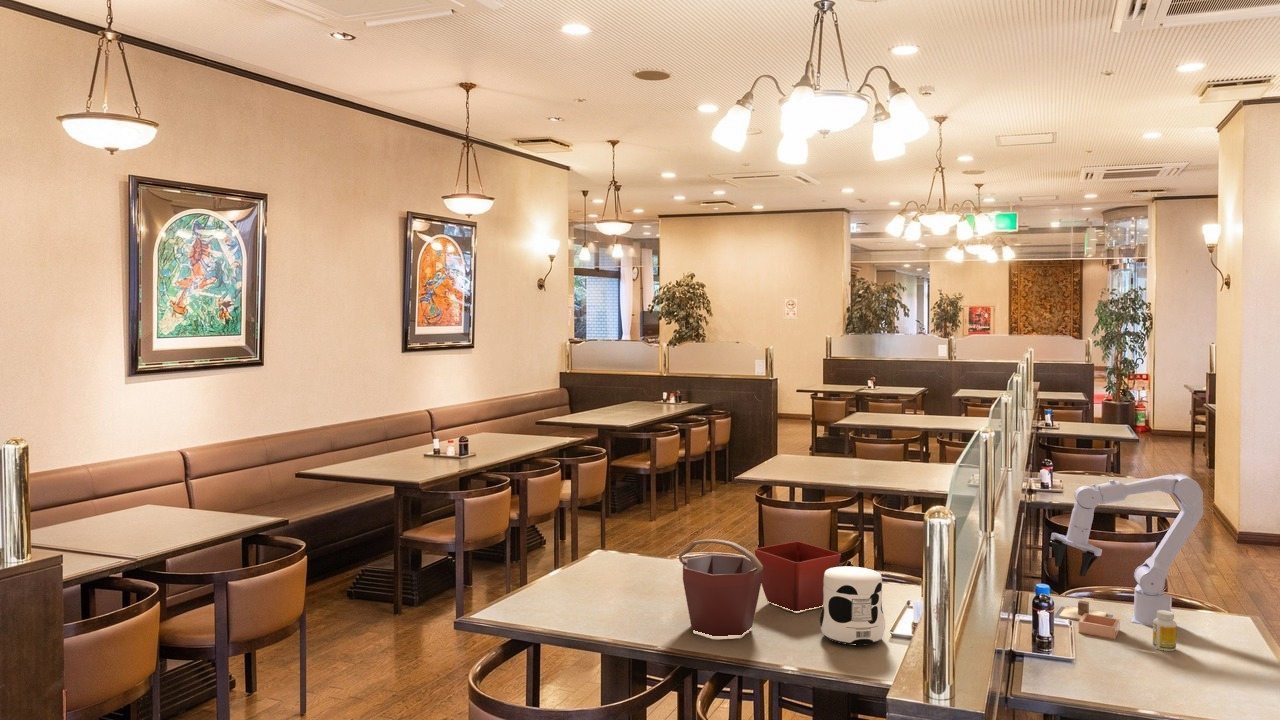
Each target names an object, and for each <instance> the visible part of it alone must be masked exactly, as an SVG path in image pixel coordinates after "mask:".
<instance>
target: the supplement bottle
mask: <svg viewBox="0 0 1280 720" xmlns="http://www.w3.org/2000/svg"><path fill="white" fill-rule="evenodd" d="M1157 617H1158V618H1156V619H1154V621H1153V626H1152V646H1153V648H1156V650H1159V651H1163V650H1164V651H1165V652H1174V651H1175V650H1176V649H1177V626H1178V624H1177V622H1176V621H1175V620H1174V619H1175V613H1174V612H1172V611H1171V612H1170V611H1165V610H1158V611H1157Z"/></svg>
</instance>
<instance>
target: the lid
mask: <svg viewBox="0 0 1280 720" xmlns="http://www.w3.org/2000/svg"><path fill="white" fill-rule="evenodd" d="M1064 607H1065V608H1064V610H1063V611H1062V612H1061V614H1060V615H1059V617H1060V618H1059V619H1062V618H1066V619H1065V620H1067V619H1071V620H1070V621H1073V620H1077V621H1076V622H1079V621H1080V619H1081V618H1082V616H1083V615H1084V613H1087V614H1092V615H1098V616H1104V617H1106V616H1107V614H1108V612H1106V611H1100V610H1094V609H1090V601H1086V600H1079V601H1078V602H1077V606H1069V605H1066V606H1064Z"/></svg>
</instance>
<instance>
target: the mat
mask: <svg viewBox="0 0 1280 720" xmlns="http://www.w3.org/2000/svg"><path fill="white" fill-rule="evenodd" d="M1065 607H1066V606H1062V605H1061V606H1060V607H1059V609H1058V610H1057V612H1056V613H1055V614H1054V615H1055V617H1054V618H1058V619H1062V620H1067V619H1066V618H1060V617H1059V615H1060V614H1061V612H1062V611H1063V610H1064V608H1065ZM1106 617H1110V618H1113V617H1114V614H1108V613H1107V616H1106ZM1068 621H1074V622H1078V621H1077V620H1071V619H1069V620H1068Z"/></svg>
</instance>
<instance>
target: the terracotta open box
mask: <svg viewBox="0 0 1280 720" xmlns="http://www.w3.org/2000/svg"><path fill="white" fill-rule="evenodd" d="M1120 629H1121V619H1120V618H1117V617H1112V618H1110V617H1104V616H1098V615H1092V614H1087V613H1084V615H1083V616H1082V618H1081V619H1080V621H1078V633H1079V634H1081V635H1082V634H1083V635H1087V636H1088V635H1090V636H1093V637H1098V638H1099V637H1101V638H1106V639H1110V640H1111V639H1112V640H1116V638H1117V637H1118V634H1119V633H1120V631H1121V630H1120Z"/></svg>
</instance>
